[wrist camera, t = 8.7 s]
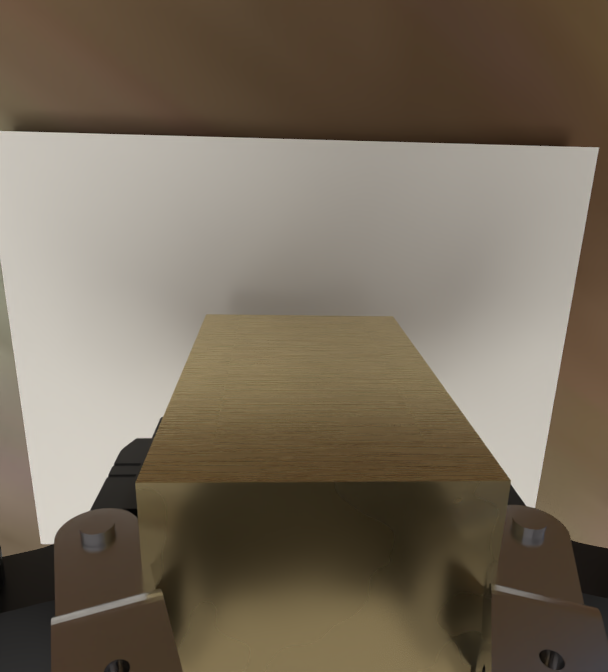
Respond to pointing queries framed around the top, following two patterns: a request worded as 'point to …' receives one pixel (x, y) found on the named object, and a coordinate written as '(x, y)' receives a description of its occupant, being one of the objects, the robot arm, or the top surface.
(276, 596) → the gold rectangular block
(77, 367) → the base board
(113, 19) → the top surface
